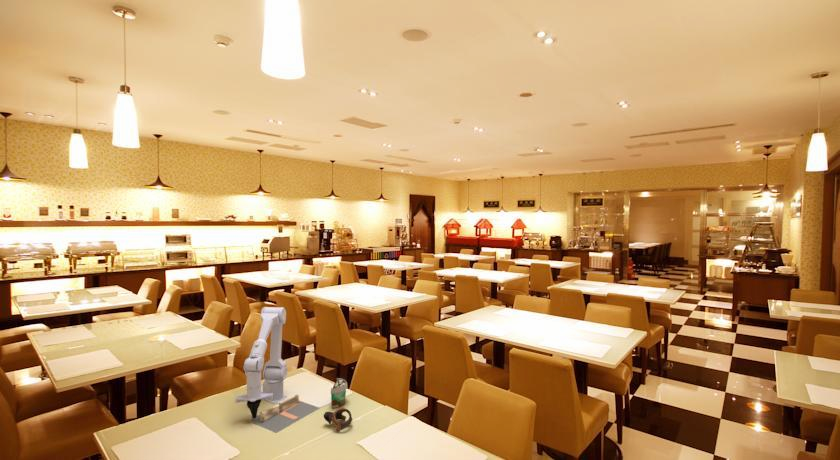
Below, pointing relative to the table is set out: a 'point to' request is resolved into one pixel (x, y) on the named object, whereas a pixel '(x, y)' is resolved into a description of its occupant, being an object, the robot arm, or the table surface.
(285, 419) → the mat
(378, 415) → the table surface
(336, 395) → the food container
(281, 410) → the fixed fence section
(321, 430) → the table surface
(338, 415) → the pottery mug
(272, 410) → the bar
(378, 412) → the table surface
